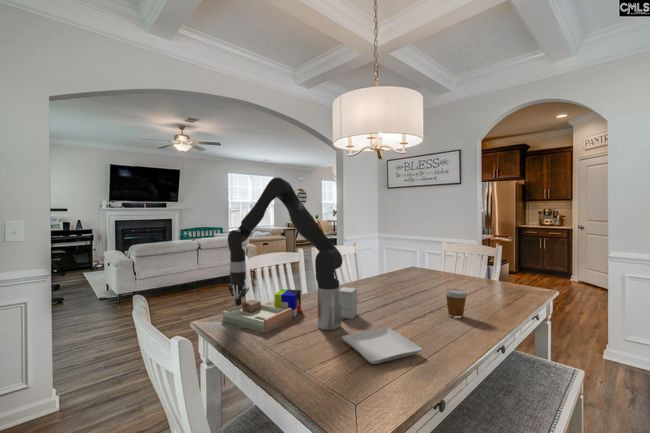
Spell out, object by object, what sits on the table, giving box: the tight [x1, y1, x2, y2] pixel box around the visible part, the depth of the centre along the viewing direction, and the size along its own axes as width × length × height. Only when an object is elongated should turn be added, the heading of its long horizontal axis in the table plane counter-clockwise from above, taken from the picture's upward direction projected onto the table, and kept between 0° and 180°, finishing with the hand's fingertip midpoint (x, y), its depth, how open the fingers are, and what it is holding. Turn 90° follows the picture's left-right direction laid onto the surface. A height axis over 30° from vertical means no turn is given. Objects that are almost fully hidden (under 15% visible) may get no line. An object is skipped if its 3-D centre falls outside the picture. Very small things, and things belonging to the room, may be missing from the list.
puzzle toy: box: [274, 288, 302, 318], centre depth 150 cm, size 10×10×10 cm
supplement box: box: [339, 286, 358, 320], centre depth 145 cm, size 7×7×13 cm
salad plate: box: [341, 326, 422, 365], centre depth 110 cm, size 21×21×3 cm
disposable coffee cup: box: [445, 288, 468, 317], centre depth 144 cm, size 10×10×12 cm
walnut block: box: [241, 299, 261, 313], centre depth 145 cm, size 6×6×4 cm
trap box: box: [222, 303, 293, 334], centre depth 139 cm, size 26×17×6 cm, turn 59°
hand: (238, 305), depth 150 cm, fingers closed
